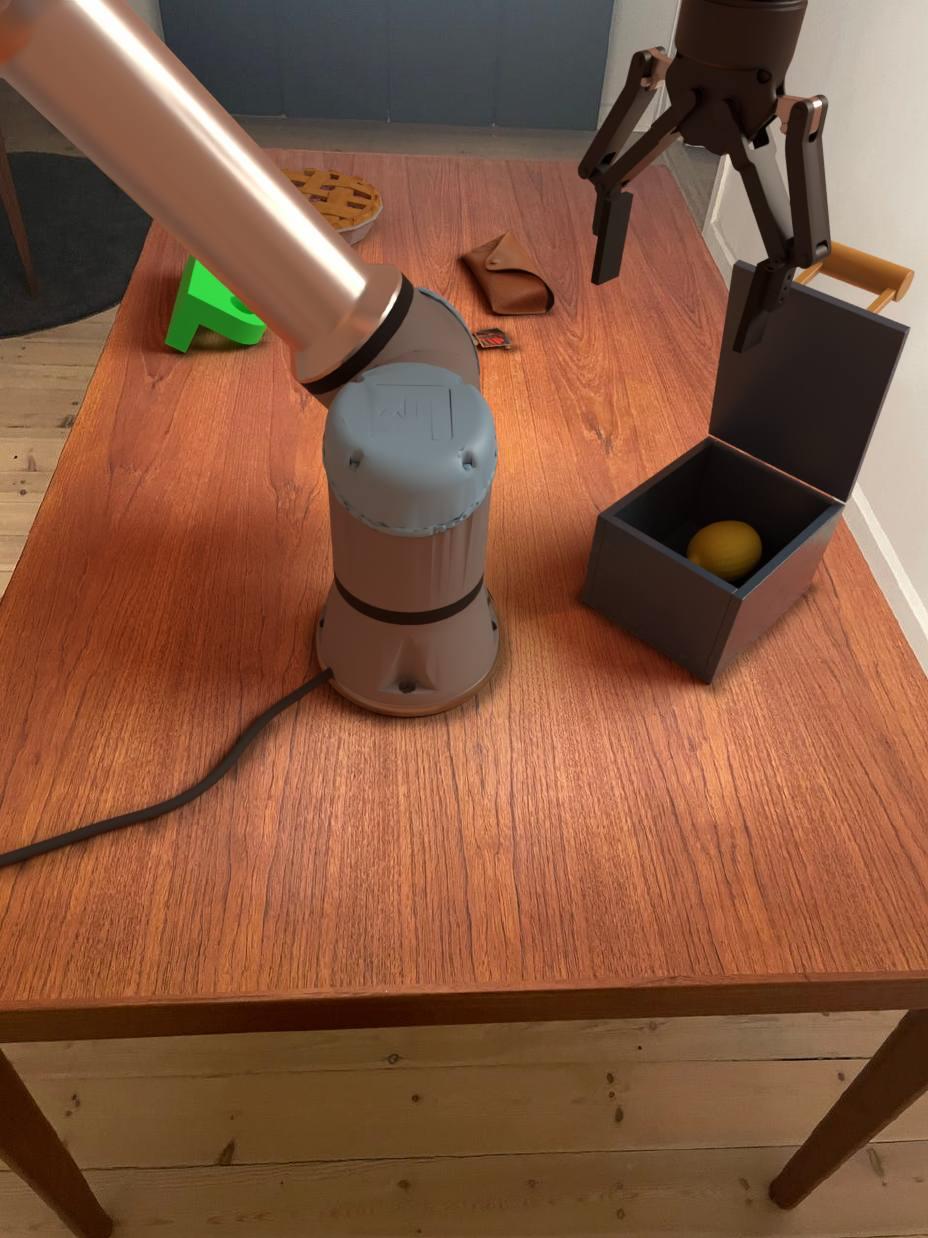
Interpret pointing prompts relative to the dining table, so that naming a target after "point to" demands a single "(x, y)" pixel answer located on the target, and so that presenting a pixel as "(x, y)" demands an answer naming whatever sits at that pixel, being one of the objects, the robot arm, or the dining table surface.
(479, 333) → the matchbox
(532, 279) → the sunglasses case
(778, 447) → the tin lid
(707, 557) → the lemon
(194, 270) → the green corner bracket
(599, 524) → the tin
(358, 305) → the robot arm
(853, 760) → the dining table surface
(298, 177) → the pie
